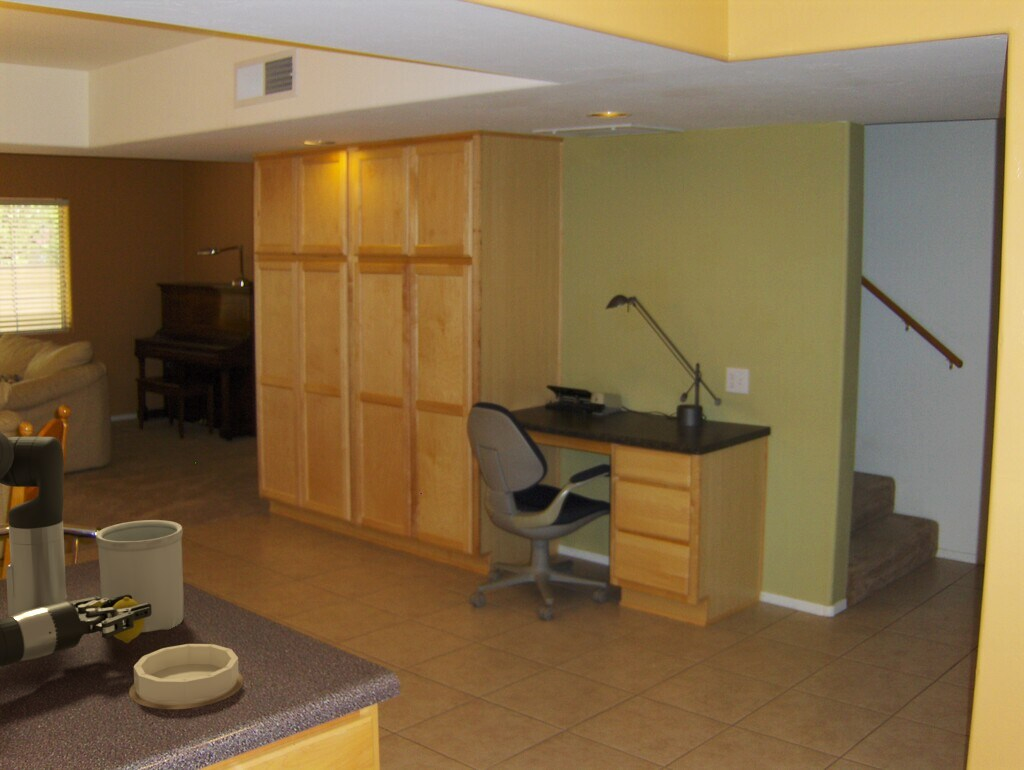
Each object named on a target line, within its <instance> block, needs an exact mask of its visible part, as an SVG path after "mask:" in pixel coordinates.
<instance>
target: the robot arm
mask: <svg viewBox="0 0 1024 770" xmlns="http://www.w3.org/2000/svg"><path fill="white" fill-rule="evenodd" d="M64 458H65V457H64V450H63V446H62V443H61V442H60V440H59V439H58V438H57V437H54V436H10V437H7V436H6V434H3V433H2V432H0V484H1V485H5V486H8V487H16V488H24V487H25V488H33V487H34V488H38V493H37V494H38V495H37V496H36V497H34V498H33V499H31V500H28V501H25V502H23V503H20V504H17V505H14V506H13V507H11V508H10V509H9V511H8V513H7V521H8V537H9V555H10V564H7V566H6V567H5V572H6V573H5V574H6V576H5V577H6V591H7V593H6V595H7V613H8V614H7V615H8V617H3V618H0V668H2V667H5V666H9V665H12V664H15V663H19V662H23V661H29V660H34V659H38V658H42V657H45V656H49V655H53V654H56V653H59V652H62V651H65V650H70V649H73V648H75V647H77V646H78V644H79V643H80V642H81V639H82V637H83V636H84V635H95V634H98V633H101V637H102V638H104V639H106V638H107V639H108V638H109V637H112V636H114V635H116V634H118V633H121V632H123V631H126V630H128V629H131V628H133V627H134V621H135V620H139V619H142V618H146V617H149V616H151V613H152V611H151V604H149V603H144V604H140V605H137V606H133V607H129V608H124V609H115V608H114V607H113V606H114V605H115V604H116V603H117V602H118V601H120V600H122V599H124V597H129V598H130V599H132V596H131V595H128V594H127V595H124V596H120V597H116V598H112V599H110V600H109V598H104V599H102V598H101V597H100V596H91V597H86V598H82V599H76V600H70V601H68V600H67V598H68V597H67V581H66V580H67V579H66V562H65V561H66V559H65V558H66V556H65V539H64V538H65V537H64V536H65V535H64V513H63V512H64V471H65V469H64V468H65V467H64V466H65V464H64V463H65V460H64ZM109 613H110V614H111V618H110V619H108V614H109ZM118 614H121V615H118ZM117 615H118V616H117Z"/></svg>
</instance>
